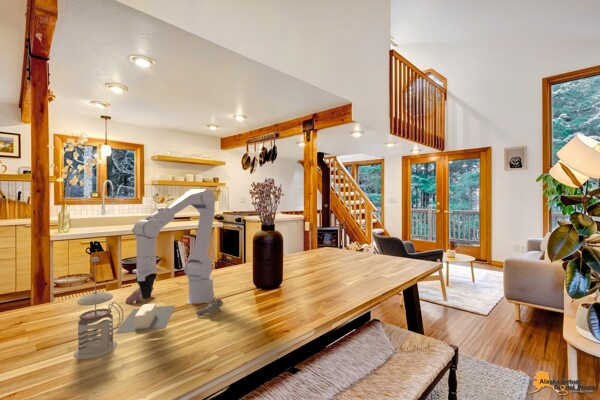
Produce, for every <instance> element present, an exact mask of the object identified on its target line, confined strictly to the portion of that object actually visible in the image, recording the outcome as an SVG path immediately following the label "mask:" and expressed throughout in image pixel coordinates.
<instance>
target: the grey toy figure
mask: <svg viewBox="0 0 600 400" xmlns="http://www.w3.org/2000/svg"><path fill="white" fill-rule="evenodd" d="M223 304H224V301H222V299H221V298H216V297H215V298H213V302H212V301H211V300H210V302H209V304H207V307H204V308H201V309H199V310H196V311H195V313H196V315H197V317H198V316H203V315H204V314H208V313H209V315H208V317H209V318H210V317H211V315H212V314H214V313H215V312H217V311H218V312H219V313H221V312H222V310H221V308H220V307H222V306H223Z"/></svg>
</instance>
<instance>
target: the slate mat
mask: <svg viewBox="0 0 600 400" xmlns="http://www.w3.org/2000/svg"><path fill="white" fill-rule="evenodd" d="M175 307H176V304H175V305H165V306H164V305H163V306H156V316H155V318H154V319H153V321H152V323H151V325H150V327H148V328H139V329H135V315H136V314H137V312H138V311H139V309H140V308H133V309H132V310H131V312H130V313H129V315H127V316H126V318H125V320H124V321H122V323H121V324H120V325H119V326H118V327H117V330H116V331H115V333H114V332H113V335H117V334H126V333H135V332H136V333H137V332H144V331H153V330H154V331H155V330H163V329H164V330H165V329H166V327H167V326H168V323H169V320H170V319H171V317H172V314H173V312H174V309H175Z"/></svg>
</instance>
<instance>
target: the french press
mask: <svg viewBox="0 0 600 400" xmlns="http://www.w3.org/2000/svg"><path fill="white" fill-rule="evenodd" d="M90 262H92V263H94V292H91V293H89V294H85V295H83V296H81V298H79V299H78V300H76V304H77V305H79V306H94V309H91V310H88V311H85V312H83V313H81V314H79V316H78V317H79V321H78V322H77V333H78V334H77V339H78V340H77V345H78V348H77V349H76V350H75V352H73V357H74V359H78V360H90V359H95V358H98V357H101V356H104V355H106V354H109V353H111V352H112V351H113V350H115V349H116V348H117V347H118V343H117V342H116V340H114V331H115V330H116V329H118V328H119V327H120V326H121V325H122V323H123V322H124V321H123V320H124V309H123V307H122V306H121V305H120V304H119V303H117V302H115V301H112V302H111V303H110V304H108V305H107V306H108V307H107V308H105V307H104V308H103V307H102V308H97V305H101V304H104V303H107V302H109V301H111V300H112V299H113V298H114V295H113V294H112V293H109V292H108V291H107V292H106V291H97V288H96V287H97V283H96V282H97V271H96V270H97V269H96V267H97V266H96V262H100V257H98V256H93V257H92V258H90ZM114 304H115V305H117V306H118V307H119V308H120V310H121V312H120V311H119V308H118V307H116V306H115V305H114ZM110 306H111V307H110ZM112 308H114V309H115V310H116V311H117V313H118V323H117V324H116V326H115V327H114V319H113V317H114V316H113V314H112ZM121 315H122V318H121ZM105 318H107V319H105ZM102 319H103V320H102ZM100 320H101V321H100ZM99 321H100V322H99ZM96 322H97V323H96ZM94 323H95V324H94Z"/></svg>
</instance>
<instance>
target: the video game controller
mask: <svg viewBox="0 0 600 400" xmlns="http://www.w3.org/2000/svg"><path fill="white" fill-rule="evenodd" d="M153 291H154V287H153V288H152V292H153ZM142 300H145V298H143V297H142V293H141V289H140V287H139V288H136V289H135V290H134V291H133V292H132V293H131V294H130V295H129V296H128V297H127V298H126V299H125V303H126V304H132V303H134V302H140V301H142Z"/></svg>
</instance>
